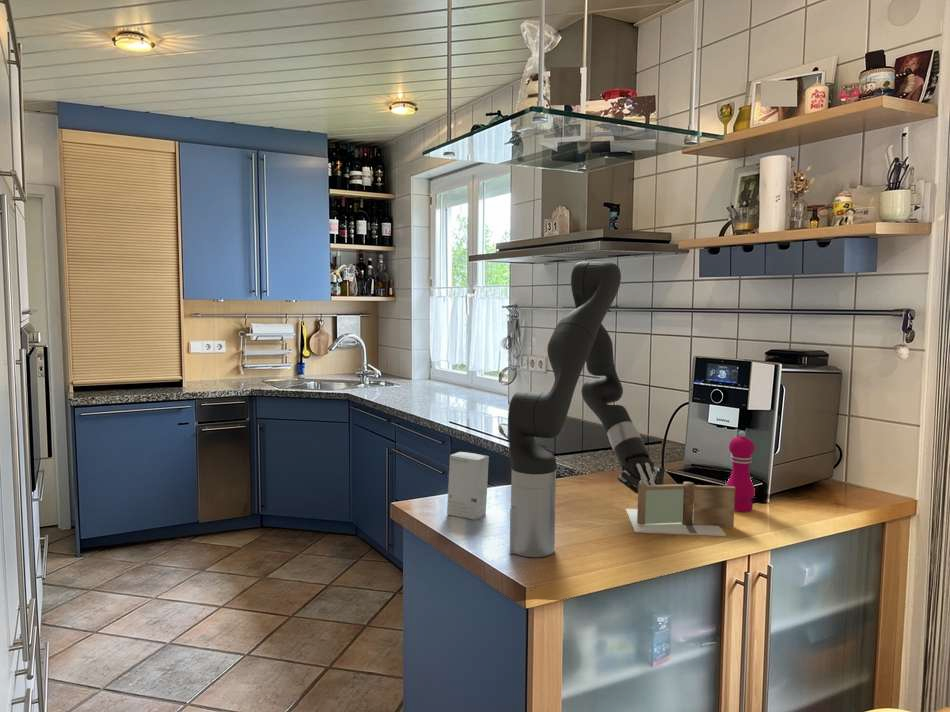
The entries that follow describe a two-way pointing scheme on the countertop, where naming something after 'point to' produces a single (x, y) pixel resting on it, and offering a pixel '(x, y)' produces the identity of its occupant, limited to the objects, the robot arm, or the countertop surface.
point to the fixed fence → (708, 505)
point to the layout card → (673, 527)
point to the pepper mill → (741, 472)
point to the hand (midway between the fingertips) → (656, 506)
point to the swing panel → (660, 503)
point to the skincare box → (467, 485)
